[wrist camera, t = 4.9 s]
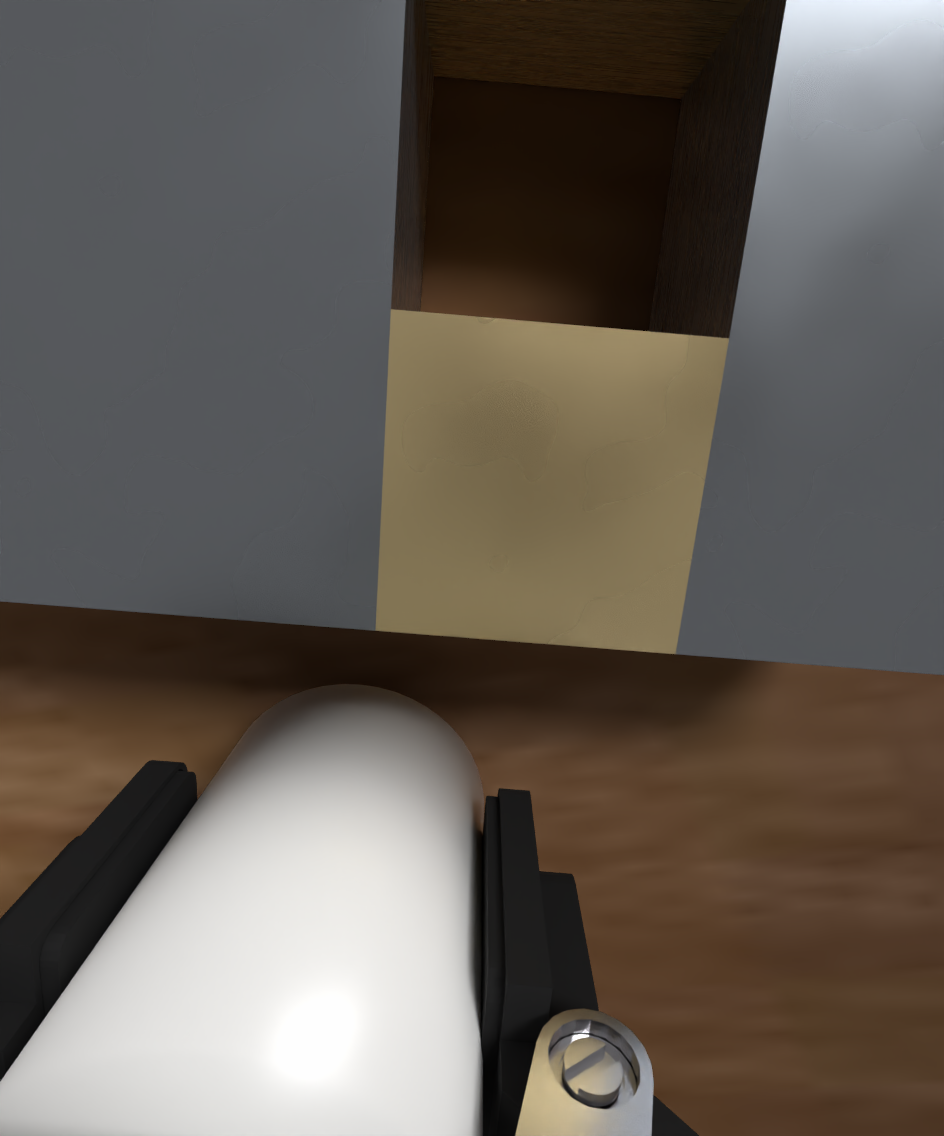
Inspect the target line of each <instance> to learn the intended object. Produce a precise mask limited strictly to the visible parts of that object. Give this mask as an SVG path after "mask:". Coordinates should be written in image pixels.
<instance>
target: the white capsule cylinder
mask: <svg viewBox="0 0 944 1136" xmlns="http://www.w3.org/2000/svg"><path fill="white" fill-rule="evenodd" d="M483 823H484V795H483V787H482V782H481V778H480V775H479V771H478V768H477V766H476V763H475V761H474V759H473V757H472V754H471V753H470V751H469V750H468V748H467V746H466V745H465V743H464V742H463V740H462V739H461V738H460V737H459V735H458V734H457V733H456V732H455V730H454V729H453V728H452V727H451V726H450V725H449V724H448V723H447V722H445V721H444V720H443V719H442V718H441V717H440V716H439V715H437V714H436V713H435V712H433V711H432V710H430V709H429V708H428V707H426V706H424V705H422V704H421V703H419V702H417V701H415V700H413V699H412V698H409V697H407V696H404V695H402V694H399V693H397V692H394V691H391V690H387V689H383V688H379V687H374V686H367V685H360V684H337V685H327V686H321V687H317V688H312V689H308V690H305V691H302V692H299V693H297V694H294V695H291V696H289V697H288V698H286V699H284V700H282V701H280V702H278V703H276V704H275V705H274V706H272V707H271V708H269V709H268V710H267V711H265V712H264V713H263V714H262V715H261V716H260V717H258V718H257V719H256V720H255V721H254V722H253V723H252V724H251V726H250V727H249V728H248V730H247V731H246V732H245V733H244V735H243V736H242V737H241V739H240V740H239V742H238V743H237V744H236V746H235V747H234V749H233V750H232V752H231V753H230V754H229V756H228V757H227V759H226V760H225V762H224V763H223V764H222V766H221V767H220V769H219V770H218V772H217V773H216V774H215V776H214V777H213V779H212V780H211V782H210V783H209V784H208V786H207V787H206V789H205V790H204V792H203V793H202V794H201V796H200V797H199V799H198V800H197V802H196V803H195V804H194V806H193V807H192V809H191V810H190V812H189V813H188V814H187V816H186V817H185V819H184V820H183V822H182V823H181V824H180V826H179V827H178V829H177V830H176V832H175V833H174V834H173V836H172V837H171V839H170V840H169V842H168V843H167V844H166V846H165V847H164V849H163V850H162V852H161V853H160V854H159V856H158V857H157V859H156V860H155V862H154V863H153V864H152V866H151V867H150V869H149V870H148V872H147V873H146V874H145V876H144V877H143V879H142V880H141V882H140V883H139V884H138V886H137V887H136V889H135V890H134V892H133V893H132V894H131V896H130V897H129V899H128V900H127V902H126V903H125V904H124V906H123V907H122V909H121V910H120V911H119V913H118V914H117V916H116V917H115V919H114V920H113V921H112V923H111V924H110V926H109V927H108V929H107V930H106V931H105V933H104V934H103V936H102V937H101V939H100V940H99V941H98V943H97V944H96V946H95V947H94V949H93V950H92V951H91V953H90V954H89V956H88V957H87V959H86V960H85V961H84V963H83V964H82V966H81V967H80V969H79V970H78V971H77V973H76V974H75V976H74V977H73V979H72V980H71V981H70V983H69V984H68V986H67V987H66V989H65V990H64V991H63V993H62V994H61V996H60V997H59V999H58V1000H57V1001H56V1003H55V1004H54V1006H53V1007H52V1009H51V1010H50V1011H49V1013H48V1014H47V1016H46V1017H45V1019H44V1020H43V1021H42V1023H41V1024H40V1026H39V1027H38V1029H37V1030H36V1031H35V1033H34V1034H33V1036H32V1037H31V1039H30V1040H29V1041H28V1043H27V1044H26V1046H25V1047H24V1049H23V1050H22V1051H21V1053H20V1054H19V1056H18V1057H17V1059H16V1060H15V1061H14V1063H13V1064H12V1066H11V1067H10V1069H9V1070H8V1071H7V1073H6V1074H5V1076H4V1077H3V1078H2V1080H1V1081H0V1136H483V1058H482V1051H481V976H482V834H483Z"/></svg>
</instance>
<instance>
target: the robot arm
mask: <svg viewBox="0 0 944 1136" xmlns="http://www.w3.org/2000/svg"><path fill="white" fill-rule="evenodd" d="M196 802H197V782H196V775H195V773H194V772H187V767H186V765H185V764H184V763H181V762H168V761H156V760H151V761H149V762H147V763H146V764H145V765H144V766H143V767H142V769H141V770H140V771H139V772H138V773H137V774H136V775H135V776H134V777H133V778H132V780H131V781H130V782H129V783H128V784H127V785H126V786H125V787H124V788H123V790H122V791H121V792H120V793H119V794H118V795H117V796H116V797H115V798H114V800H113V801H112V802H111V803H110V804H109V805H108V806H107V807H106V808H105V810H104V811H103V812H102V813H101V814H100V815H99V816H98V817H97V818H96V820H95V821H94V822H93V823H92V824H91V825H90V826H89V827H88V828H87V830H86V831H85V832H84V833H83V834H82V835H81V836H78V837H76V838H75V839H74V840H72V841H71V842H70V843H69V844H68V845H67V846H66V847H65V848H64V849H63V851H62V852H61V853H60V854H59V855H58V856H57V857H56V858H55V859H54V860H53V862H52V863H51V864H50V865H49V866H48V867H47V868H46V869H45V870H44V871H43V872H42V874H41V875H40V876H39V877H38V878H37V879H36V880H35V881H34V882H33V883H32V885H31V886H30V887H29V888H28V889H27V890H26V891H25V892H24V893H23V894H22V896H21V897H20V898H19V899H18V900H17V901H16V902H15V903H14V904H13V905H12V906H11V908H10V909H9V910H8V911H7V912H6V913H5V914H4V915H3V916H2V917H1V919H0V1081H1V1080H2V1078H3V1077H4V1076H5V1074H6V1073H7V1071H8V1070H9V1069H10V1067H11V1066H12V1064H13V1063H14V1061H15V1060H16V1059H17V1057H18V1056H19V1054H20V1053H21V1051H22V1050H23V1049H24V1047H25V1046H26V1044H27V1043H28V1041H29V1040H30V1039H31V1037H32V1036H33V1034H34V1033H35V1031H36V1030H37V1029H38V1027H39V1026H40V1024H41V1023H42V1021H43V1020H44V1019H45V1017H46V1016H47V1014H48V1013H49V1011H50V1010H51V1009H52V1007H53V1006H54V1004H55V1003H56V1001H57V1000H58V999H59V997H60V996H61V994H62V993H63V991H64V990H65V989H66V987H67V986H68V984H69V983H70V981H71V980H72V979H73V977H74V976H75V974H76V973H77V971H78V970H79V969H80V967H81V966H82V964H83V963H84V961H85V960H86V959H87V957H88V956H89V954H90V953H91V951H92V950H93V949H94V947H95V946H96V944H97V943H98V941H99V940H100V939H101V937H102V936H103V934H104V933H105V931H106V930H107V929H108V927H109V926H110V924H111V923H112V921H113V920H114V919H115V917H116V916H117V914H118V913H119V911H120V910H121V909H122V907H123V906H124V904H125V903H126V902H127V900H128V899H129V897H130V896H131V894H132V893H133V892H134V890H135V889H136V887H137V886H138V884H139V883H140V882H141V880H142V879H143V877H144V876H145V874H146V873H147V872H148V870H149V869H150V867H151V866H152V864H153V863H154V862H155V860H156V859H157V857H158V856H159V854H160V853H161V852H162V850H163V849H164V847H165V846H166V844H167V843H168V842H169V840H170V839H171V837H172V836H173V834H174V833H175V832H176V830H177V829H178V827H179V826H180V824H181V823H182V822H183V820H184V819H185V817H186V816H187V814H188V813H189V812H190V810H191V809H192V807H193V806H194V804H195V803H196ZM481 1051H482V1058H483V1136H699V1135H698V1134H697V1133H696V1132H694V1131H693V1130H692V1129H691V1128H690V1127H689V1126H688V1125H687V1124H686V1123H684V1122H683V1121H682V1120H681V1119H680V1118H679V1117H678V1116H677V1115H675V1114H674V1113H673V1112H672V1111H671V1110H670V1109H669V1108H668V1107H666V1106H665V1105H664V1104H663V1103H662V1102H661V1101H660V1100H659V1099H657V1098H656V1097H655V1096H654V1095H653V1086H654V1081H653V1073H652V1064H651V1062H650V1060H649V1057H648V1055H647V1053H646V1050H645V1048H644V1046H643V1045H642V1044H641V1042H640V1041H639V1040H638V1038H637V1037H636V1036H635V1035H634V1033H633V1032H632V1031H631V1030H630V1029H628V1028H627V1027H626V1026H625V1025H623V1024H622V1023H621V1022H620V1021H618V1020H617V1019H615V1018H613V1017H611V1016H609V1015H606V1014H604V1013H602V1012H599V1009H598V1003H597V998H596V993H595V987H594V982H593V976H592V971H591V965H590V960H589V955H588V949H587V944H586V938H585V933H584V928H583V922H582V917H581V911H580V906H579V900H578V895H577V890H576V884H575V880H574V877H573V875H572V874H567V873H554V872H542V871H539V865H538V856H537V848H536V839H535V830H534V821H533V812H532V804H531V795H530V791H525V790H513V789H501V788H499V790H498V797H494V796H487V797H486V803H485V813H484V823H483V834H482V976H481Z"/></svg>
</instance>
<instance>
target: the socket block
mask: <svg viewBox="0 0 944 1136" xmlns="http://www.w3.org/2000/svg"><path fill="white" fill-rule="evenodd" d="M434 76H440V77H451V78H462V79H473V80H483V81H494V82H505V83H516V84H527V85H537V86H548V87H559V88H570V89H581V90H592V91H602V92H613V93H624V94H635V95H646V96H656V97H667V98H678V99H681V104H680V111H679V118H678V125H677V132H676V139H675V146H674V153H673V161H672V168H671V175H670V182H669V189H668V196H667V203H666V210H665V217H664V225H663V232H662V239H661V246H660V253H659V260H658V267H657V274H656V282H655V289H654V296H653V303H652V310H651V317H650V324H649V331H637V330H625V329H614V328H602V327H591V326H579V325H568V324H556V323H544V322H533V321H521V320H510V319H498V318H487V317H475V316H463V315H452V314H440V313H429V312H420V308H421V290H422V273H423V256H424V239H425V222H426V205H427V187H428V170H429V153H430V136H431V119H432V102H433V84H434ZM0 601H2V602H15V603H28V604H41V605H54V606H66V607H79V608H92V609H105V610H118V611H130V612H143V613H156V614H169V615H182V616H194V617H207V618H220V619H233V620H246V621H258V622H271V623H284V624H297V625H310V626H322V627H335V628H348V629H361V630H374V631H386V632H399V633H412V634H425V635H438V636H450V637H463V638H476V639H489V640H502V641H514V642H527V643H540V644H553V645H566V646H578V647H591V648H604V649H617V650H630V651H642V652H655V653H668V654H681V655H694V656H706V657H719V658H732V659H745V660H757V661H770V662H783V663H796V664H809V665H821V666H834V667H847V668H860V669H873V670H885V671H898V672H911V673H924V674H937V675H944V0H0Z"/></svg>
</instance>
